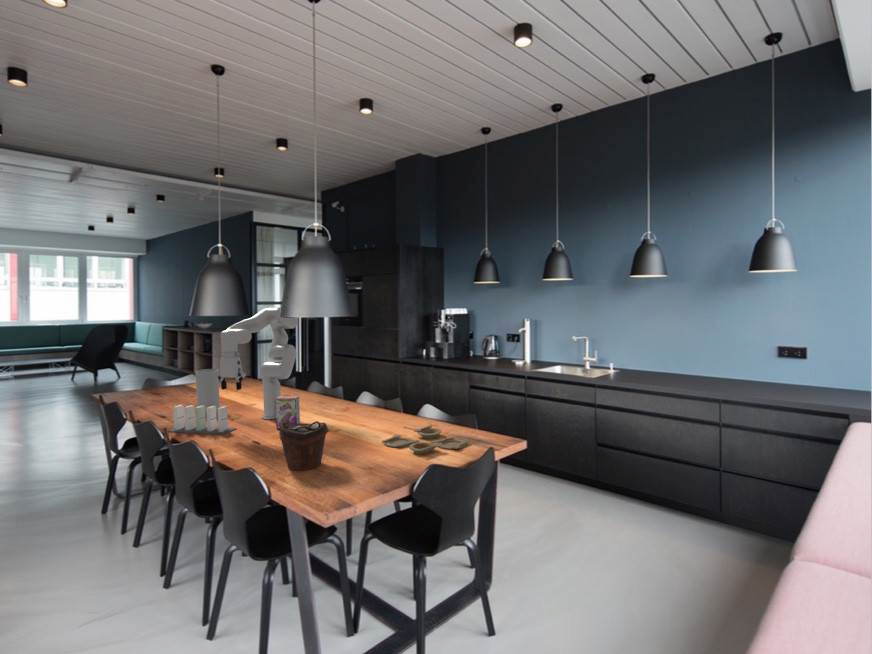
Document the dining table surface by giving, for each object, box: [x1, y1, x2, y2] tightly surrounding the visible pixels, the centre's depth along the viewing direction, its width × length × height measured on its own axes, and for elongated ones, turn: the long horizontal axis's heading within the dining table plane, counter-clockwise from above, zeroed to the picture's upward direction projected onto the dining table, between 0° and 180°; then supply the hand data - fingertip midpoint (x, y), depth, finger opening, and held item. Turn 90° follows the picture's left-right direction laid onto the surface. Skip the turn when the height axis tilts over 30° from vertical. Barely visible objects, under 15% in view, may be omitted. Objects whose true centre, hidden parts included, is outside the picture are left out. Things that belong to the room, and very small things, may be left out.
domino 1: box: [172, 404, 185, 430], centre depth 259 cm, size 2×5×12 cm, turn 167°
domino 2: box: [184, 404, 196, 430], centre depth 257 cm, size 2×5×12 cm, turn 167°
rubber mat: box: [167, 426, 237, 435], centre depth 256 cm, size 33×10×1 cm, turn 77°
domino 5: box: [217, 405, 229, 432], centre depth 253 cm, size 2×5×12 cm, turn 167°
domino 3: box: [194, 406, 207, 431], centre depth 256 cm, size 2×5×12 cm, turn 168°
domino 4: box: [205, 406, 218, 431], centre depth 254 cm, size 2×5×12 cm, turn 167°
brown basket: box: [278, 421, 330, 472], centre depth 198 cm, size 18×20×18 cm
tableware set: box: [381, 424, 470, 455], centre depth 224 cm, size 35×29×4 cm
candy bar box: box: [275, 396, 301, 430], centre depth 256 cm, size 11×5×16 cm, turn 84°
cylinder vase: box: [194, 368, 221, 414], centre depth 300 cm, size 12×12×25 cm
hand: (231, 389), depth 251 cm, fingers open, 7 cm apart
